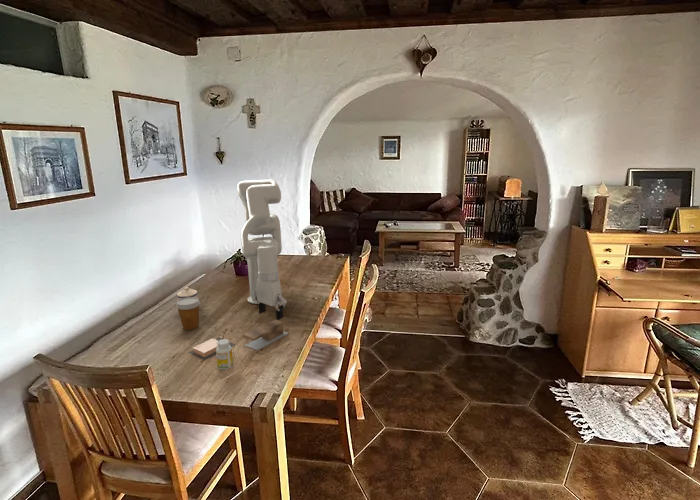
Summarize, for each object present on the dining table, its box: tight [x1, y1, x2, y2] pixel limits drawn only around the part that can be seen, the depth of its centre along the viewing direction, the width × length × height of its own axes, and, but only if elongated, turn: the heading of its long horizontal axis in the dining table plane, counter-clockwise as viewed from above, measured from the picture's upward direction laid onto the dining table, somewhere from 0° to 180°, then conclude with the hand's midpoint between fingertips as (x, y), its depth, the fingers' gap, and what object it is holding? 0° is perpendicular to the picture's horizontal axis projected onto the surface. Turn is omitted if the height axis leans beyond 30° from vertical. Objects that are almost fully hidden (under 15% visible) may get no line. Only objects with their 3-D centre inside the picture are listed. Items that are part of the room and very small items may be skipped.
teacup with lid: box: [176, 286, 199, 301], centre depth 192 cm, size 12×9×12 cm
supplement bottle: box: [215, 338, 234, 370], centre depth 144 cm, size 5×5×10 cm
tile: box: [192, 338, 218, 357], centre depth 156 cm, size 2×7×9 cm
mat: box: [188, 337, 236, 361], centre depth 157 cm, size 14×10×1 cm
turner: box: [242, 319, 284, 341], centre depth 162 cm, size 16×6×5 cm, turn 145°
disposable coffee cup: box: [175, 297, 201, 331], centre depth 175 cm, size 10×10×12 cm
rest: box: [244, 330, 289, 351], centre depth 164 cm, size 17×7×1 cm, turn 145°
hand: (271, 315), depth 165 cm, fingers open, 9 cm apart
